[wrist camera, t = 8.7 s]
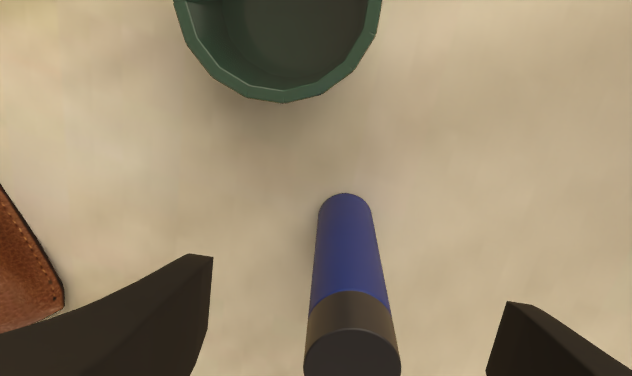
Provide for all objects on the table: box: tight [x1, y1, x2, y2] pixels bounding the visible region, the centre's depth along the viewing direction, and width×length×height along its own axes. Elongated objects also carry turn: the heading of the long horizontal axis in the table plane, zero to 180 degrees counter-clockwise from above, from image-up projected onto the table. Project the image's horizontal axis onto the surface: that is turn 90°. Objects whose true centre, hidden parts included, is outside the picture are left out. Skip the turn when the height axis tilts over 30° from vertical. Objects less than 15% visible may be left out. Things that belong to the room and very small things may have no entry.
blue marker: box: [303, 193, 401, 376], centre depth 14 cm, size 2×2×8 cm
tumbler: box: [173, 0, 382, 104], centre depth 13 cm, size 5×5×4 cm
